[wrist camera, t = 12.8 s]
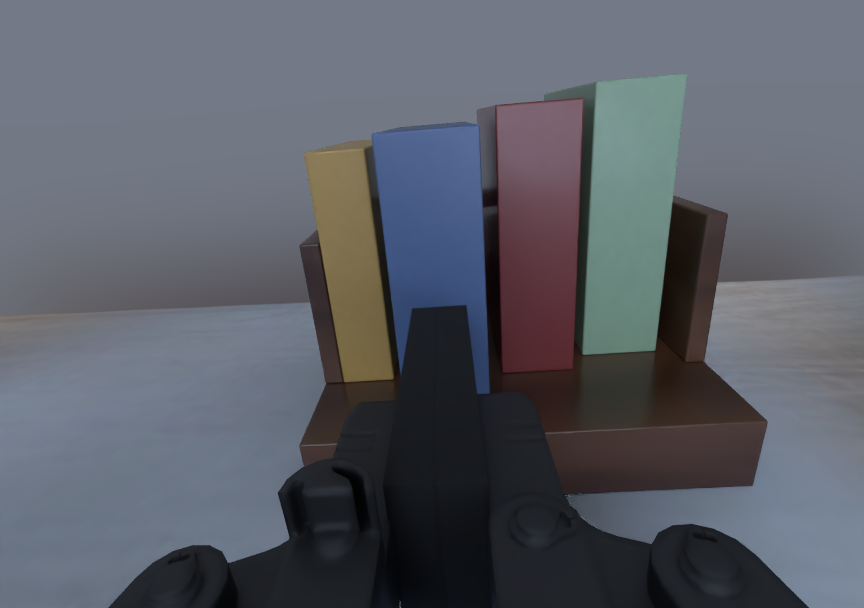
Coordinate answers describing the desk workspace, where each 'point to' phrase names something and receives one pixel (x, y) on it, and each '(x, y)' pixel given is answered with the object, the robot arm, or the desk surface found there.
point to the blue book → (434, 227)
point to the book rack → (602, 386)
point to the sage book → (625, 208)
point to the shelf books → (503, 240)
